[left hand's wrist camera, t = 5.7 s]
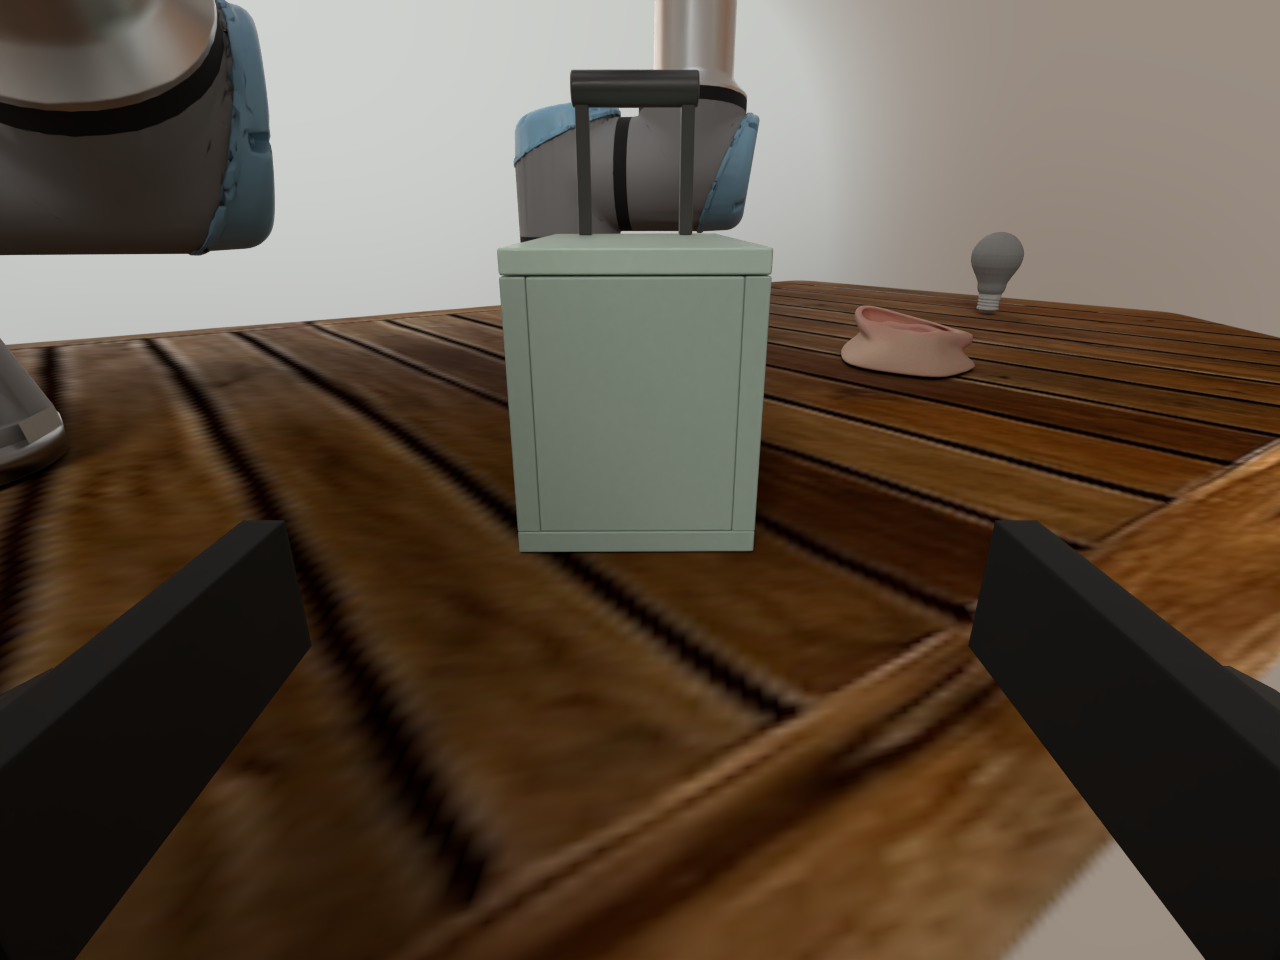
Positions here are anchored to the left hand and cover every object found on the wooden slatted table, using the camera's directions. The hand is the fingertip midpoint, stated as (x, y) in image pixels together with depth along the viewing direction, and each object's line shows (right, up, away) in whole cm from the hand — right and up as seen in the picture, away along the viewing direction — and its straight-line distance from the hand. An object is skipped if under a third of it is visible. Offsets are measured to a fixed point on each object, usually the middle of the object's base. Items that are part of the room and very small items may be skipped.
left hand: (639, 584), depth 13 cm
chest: (0, +2, +22) cm, 22 cm away
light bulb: (+46, +24, +77) cm, 93 cm away
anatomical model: (+24, +12, +48) cm, 55 cm away
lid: (0, +12, +18) cm, 22 cm away
